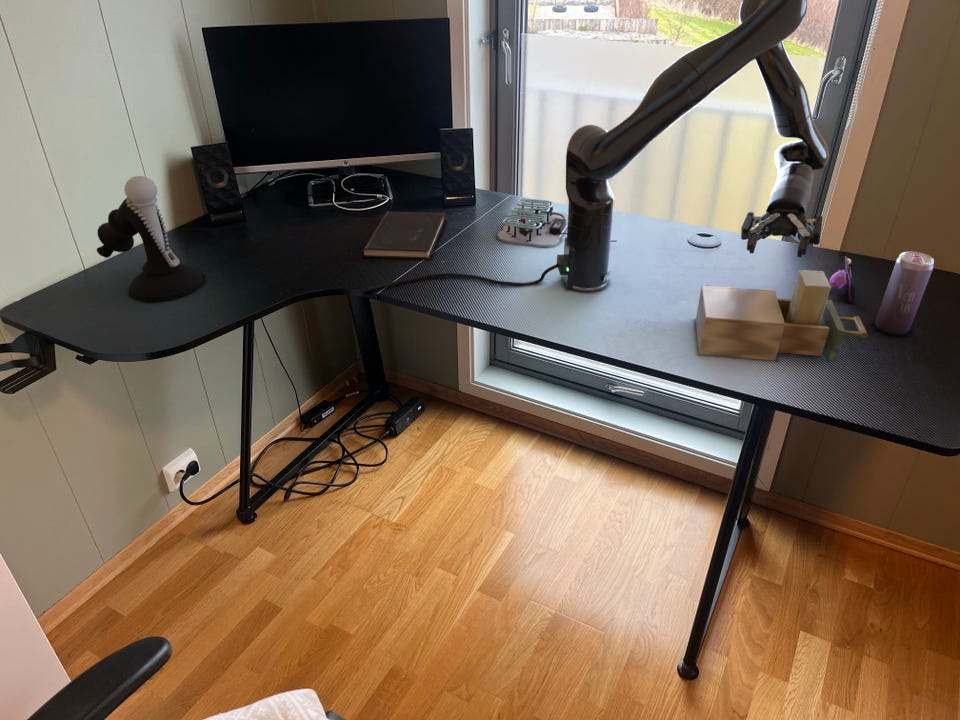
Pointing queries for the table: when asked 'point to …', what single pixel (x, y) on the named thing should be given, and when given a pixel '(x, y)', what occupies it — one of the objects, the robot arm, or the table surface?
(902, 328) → the beverage can
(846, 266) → the purple figurine
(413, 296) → the table surface
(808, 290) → the cosmetic box
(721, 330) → the cabinet
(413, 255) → the hardcover book
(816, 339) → the drawer
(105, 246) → the sculpture
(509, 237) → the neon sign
